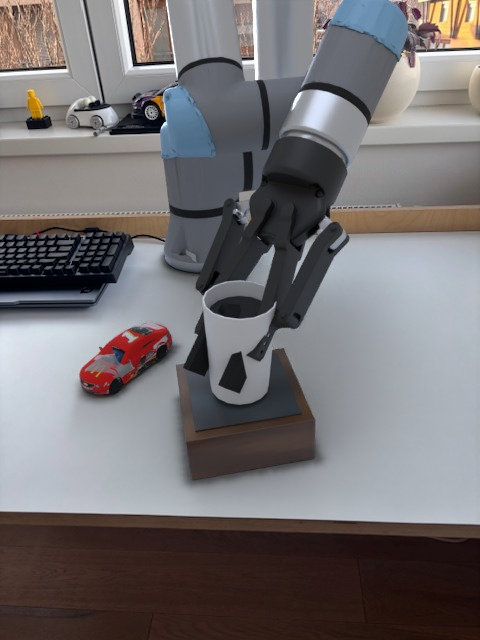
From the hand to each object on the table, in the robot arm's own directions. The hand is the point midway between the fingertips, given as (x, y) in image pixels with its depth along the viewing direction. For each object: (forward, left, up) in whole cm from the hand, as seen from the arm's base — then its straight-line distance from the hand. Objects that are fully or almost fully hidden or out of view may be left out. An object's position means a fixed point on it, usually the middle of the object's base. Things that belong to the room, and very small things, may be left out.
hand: (211, 380), depth 50 cm
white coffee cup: (-2, +3, -3) cm, 5 cm away
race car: (-16, -9, -9) cm, 21 cm away
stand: (-2, +3, -9) cm, 9 cm away
